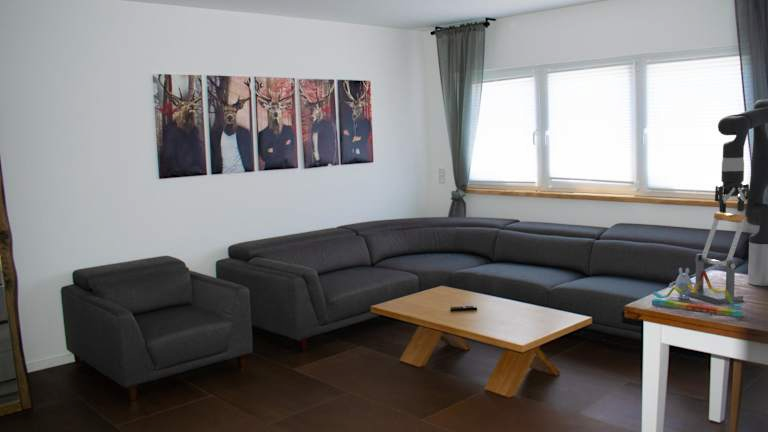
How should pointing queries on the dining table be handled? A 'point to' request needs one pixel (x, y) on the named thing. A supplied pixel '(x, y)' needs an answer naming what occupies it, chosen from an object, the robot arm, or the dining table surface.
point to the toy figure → (683, 283)
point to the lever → (718, 216)
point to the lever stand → (718, 297)
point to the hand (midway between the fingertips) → (731, 212)
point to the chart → (698, 307)
